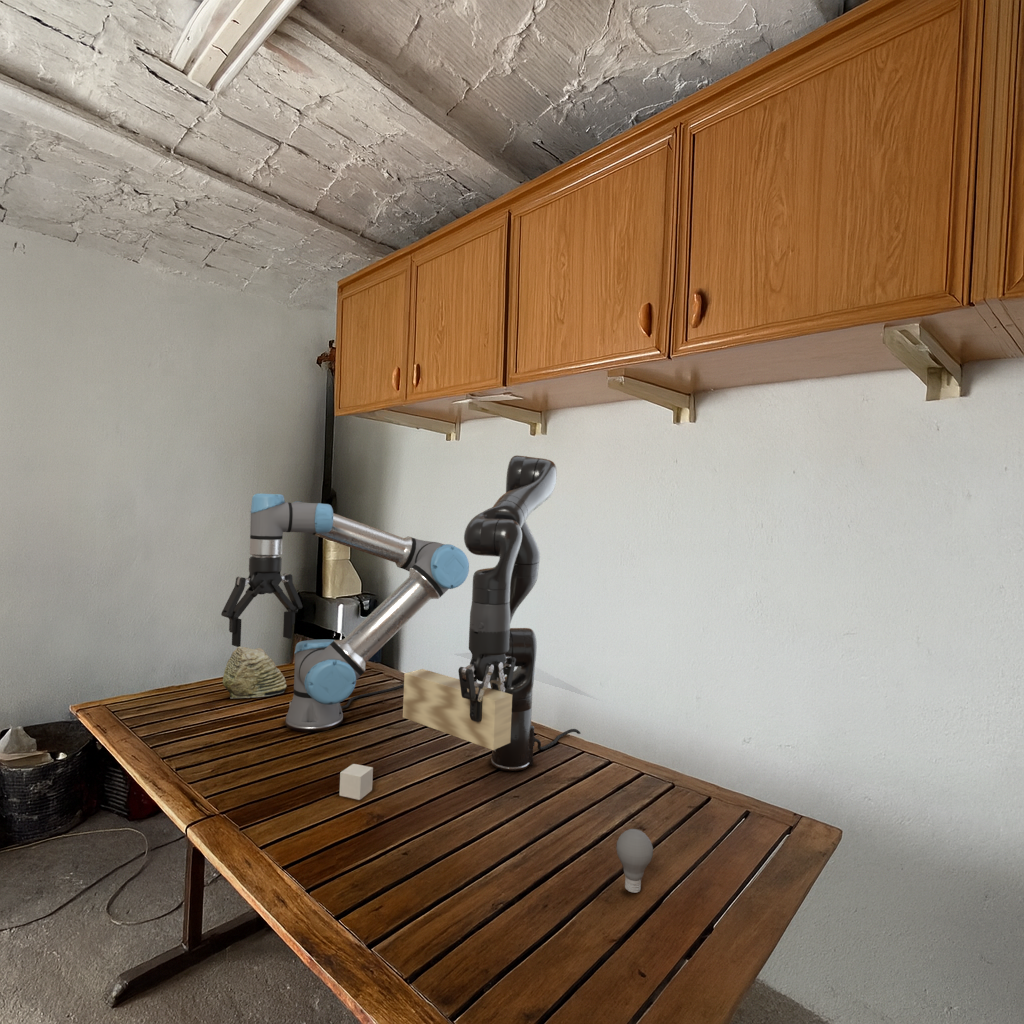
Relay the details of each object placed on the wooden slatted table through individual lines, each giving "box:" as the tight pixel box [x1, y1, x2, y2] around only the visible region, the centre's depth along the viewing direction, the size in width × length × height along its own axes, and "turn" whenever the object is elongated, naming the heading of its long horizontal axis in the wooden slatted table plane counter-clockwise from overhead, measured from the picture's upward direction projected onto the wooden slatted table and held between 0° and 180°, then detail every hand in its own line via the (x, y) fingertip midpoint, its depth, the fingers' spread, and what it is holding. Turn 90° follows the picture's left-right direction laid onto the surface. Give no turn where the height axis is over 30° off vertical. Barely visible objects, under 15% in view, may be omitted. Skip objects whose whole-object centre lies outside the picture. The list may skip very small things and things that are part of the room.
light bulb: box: [615, 828, 654, 894], centre depth 106 cm, size 6×6×10 cm
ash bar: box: [402, 668, 512, 751], centre depth 123 cm, size 24×5×9 cm, turn 52°
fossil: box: [222, 646, 288, 699], centre depth 198 cm, size 9×18×15 cm, turn 132°
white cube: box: [338, 763, 374, 801], centre depth 136 cm, size 5×5×5 cm
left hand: (262, 641), depth 157 cm, fingers open, 13 cm apart
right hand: (486, 716), depth 118 cm, fingers closed on ash bar, 5 cm apart
